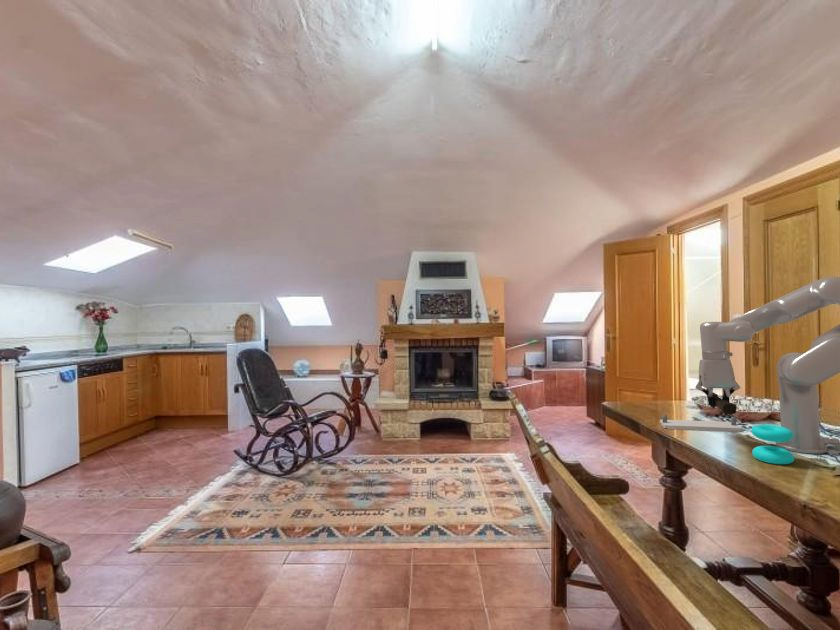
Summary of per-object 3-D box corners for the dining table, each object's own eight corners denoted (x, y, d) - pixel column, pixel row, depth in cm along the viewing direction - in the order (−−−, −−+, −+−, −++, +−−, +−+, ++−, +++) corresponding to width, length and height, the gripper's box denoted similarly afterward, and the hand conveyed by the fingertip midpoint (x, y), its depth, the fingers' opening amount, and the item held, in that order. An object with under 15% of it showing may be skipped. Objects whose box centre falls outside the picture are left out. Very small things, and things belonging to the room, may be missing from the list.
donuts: (801, 433, 122) (761, 432, 124) (802, 466, 122) (763, 465, 124) (781, 423, 131) (744, 423, 134) (782, 455, 131) (746, 453, 134)
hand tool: (737, 415, 138) (736, 401, 138) (723, 414, 139) (722, 401, 139) (717, 402, 155) (716, 390, 155) (705, 402, 157) (704, 390, 157)
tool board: (732, 425, 164) (732, 414, 164) (741, 432, 156) (741, 420, 156) (659, 423, 173) (659, 412, 173) (664, 428, 164) (664, 417, 164)
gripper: (738, 354, 148) (742, 405, 148) (685, 356, 154) (689, 405, 154) (746, 356, 141) (751, 409, 141) (691, 358, 147) (695, 409, 147)
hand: (719, 406), depth 147 cm, fingers closed on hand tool, 3 cm apart
